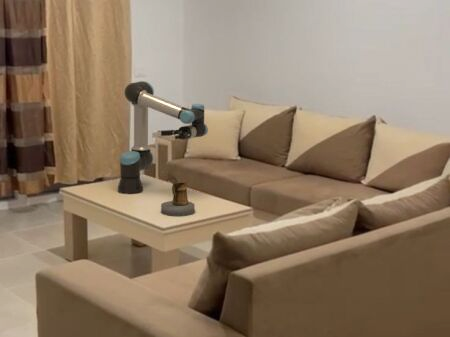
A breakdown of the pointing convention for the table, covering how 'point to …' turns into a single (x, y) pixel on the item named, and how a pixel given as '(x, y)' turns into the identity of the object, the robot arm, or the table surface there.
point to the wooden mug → (178, 192)
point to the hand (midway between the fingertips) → (161, 136)
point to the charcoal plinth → (177, 209)
